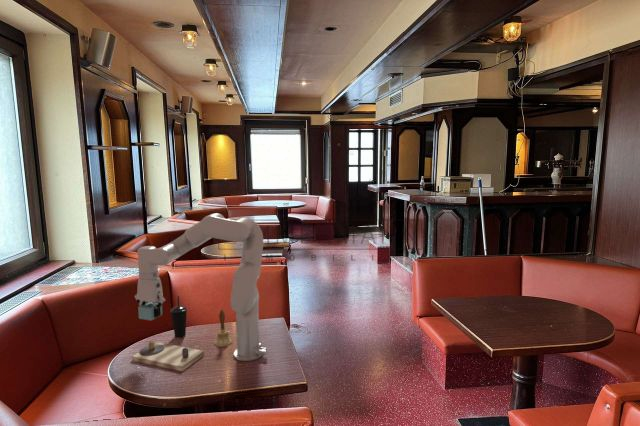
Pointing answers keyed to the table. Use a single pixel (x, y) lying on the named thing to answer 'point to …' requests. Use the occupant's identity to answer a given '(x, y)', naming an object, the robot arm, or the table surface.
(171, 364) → the base board
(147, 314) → the collar
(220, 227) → the robot arm
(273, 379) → the table surface
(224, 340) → the hand bell
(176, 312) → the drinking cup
